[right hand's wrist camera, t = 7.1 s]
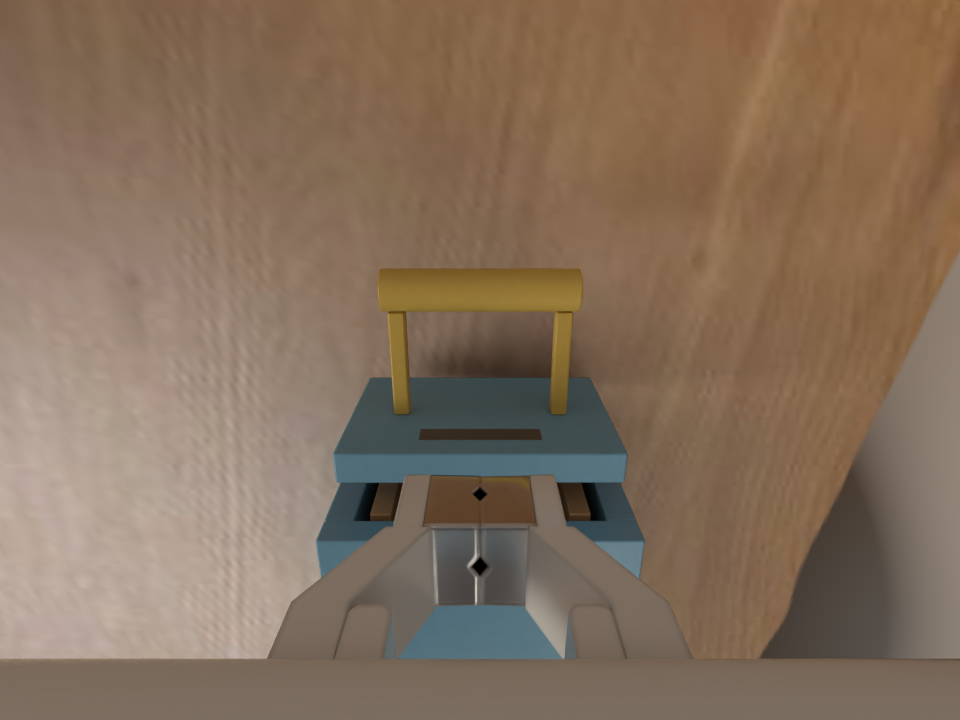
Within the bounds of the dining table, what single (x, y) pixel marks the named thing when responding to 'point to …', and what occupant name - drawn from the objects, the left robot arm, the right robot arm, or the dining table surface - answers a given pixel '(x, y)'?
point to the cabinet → (481, 625)
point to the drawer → (480, 398)
